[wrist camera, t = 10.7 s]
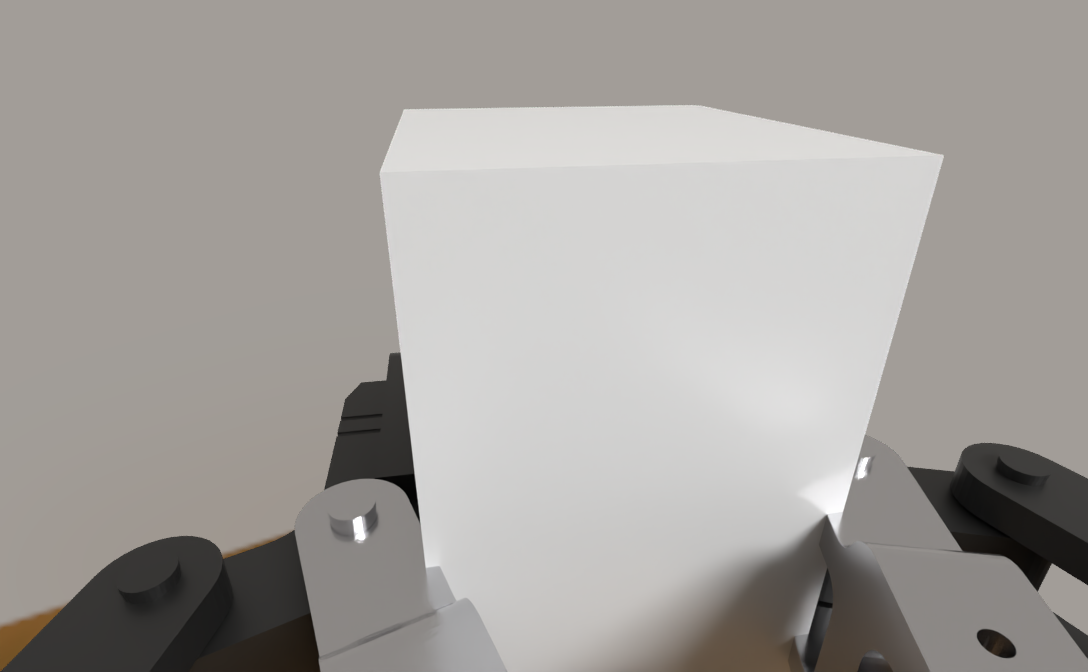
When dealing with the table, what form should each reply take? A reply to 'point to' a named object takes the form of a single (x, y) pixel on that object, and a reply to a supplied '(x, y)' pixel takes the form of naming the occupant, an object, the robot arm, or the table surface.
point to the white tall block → (641, 368)
